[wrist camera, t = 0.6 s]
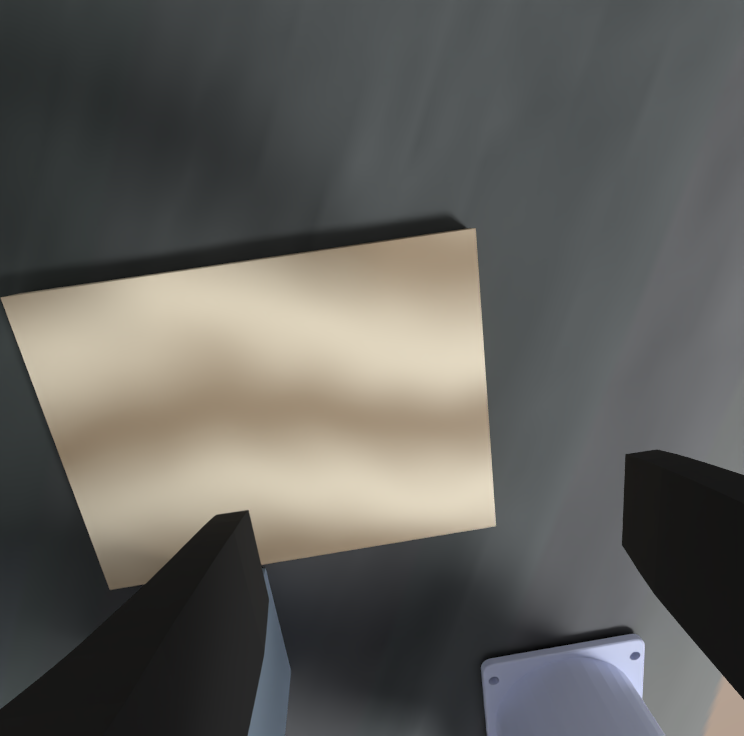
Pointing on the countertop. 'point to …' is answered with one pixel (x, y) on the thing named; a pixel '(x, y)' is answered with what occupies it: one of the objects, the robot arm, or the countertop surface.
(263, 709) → the slab
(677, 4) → the countertop surface
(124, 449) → the board
